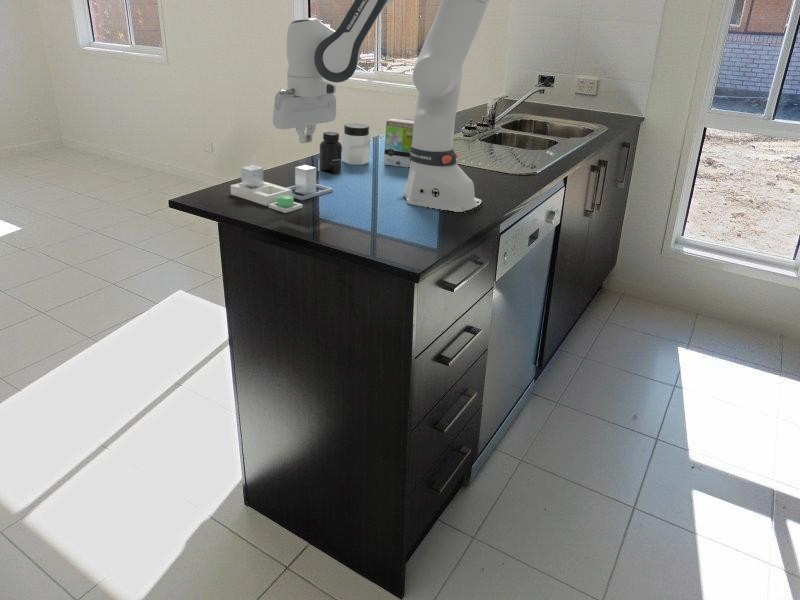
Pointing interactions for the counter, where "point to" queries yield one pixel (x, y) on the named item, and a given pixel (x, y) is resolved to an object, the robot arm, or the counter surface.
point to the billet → (305, 179)
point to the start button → (285, 201)
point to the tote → (325, 190)
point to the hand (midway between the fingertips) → (305, 142)
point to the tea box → (398, 141)
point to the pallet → (261, 193)
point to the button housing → (285, 210)
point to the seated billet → (252, 177)
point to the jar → (356, 144)
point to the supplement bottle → (330, 153)
